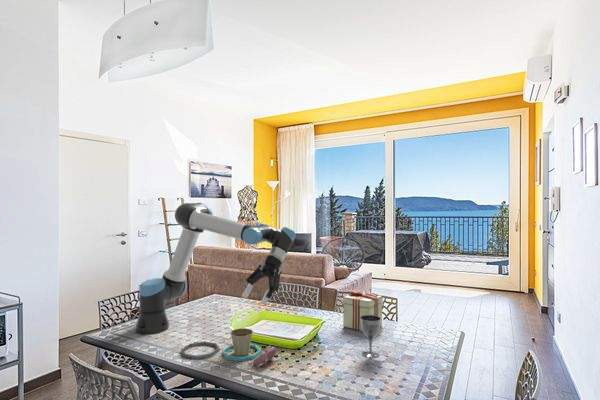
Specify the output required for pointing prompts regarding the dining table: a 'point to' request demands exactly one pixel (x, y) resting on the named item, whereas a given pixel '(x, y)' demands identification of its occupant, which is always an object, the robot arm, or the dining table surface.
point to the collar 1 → (200, 355)
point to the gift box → (360, 308)
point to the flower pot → (241, 341)
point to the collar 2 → (241, 357)
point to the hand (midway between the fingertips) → (253, 300)
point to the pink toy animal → (265, 356)
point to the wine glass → (370, 332)
